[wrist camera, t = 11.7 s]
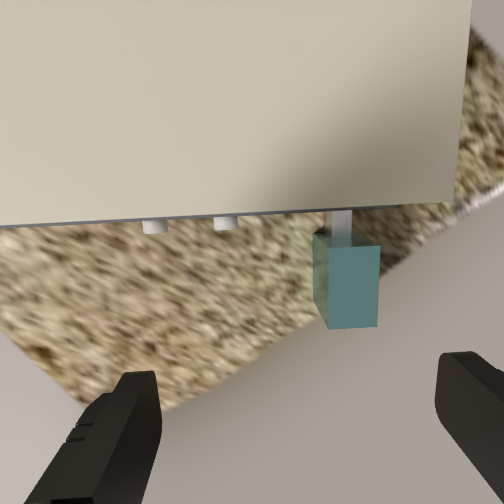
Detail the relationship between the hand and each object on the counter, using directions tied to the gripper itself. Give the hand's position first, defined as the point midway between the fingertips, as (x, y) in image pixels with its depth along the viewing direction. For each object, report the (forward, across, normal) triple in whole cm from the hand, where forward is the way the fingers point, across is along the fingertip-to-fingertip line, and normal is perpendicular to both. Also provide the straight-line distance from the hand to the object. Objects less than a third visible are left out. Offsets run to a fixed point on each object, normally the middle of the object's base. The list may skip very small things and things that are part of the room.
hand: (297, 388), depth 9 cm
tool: (+19, -6, -2) cm, 20 cm away
